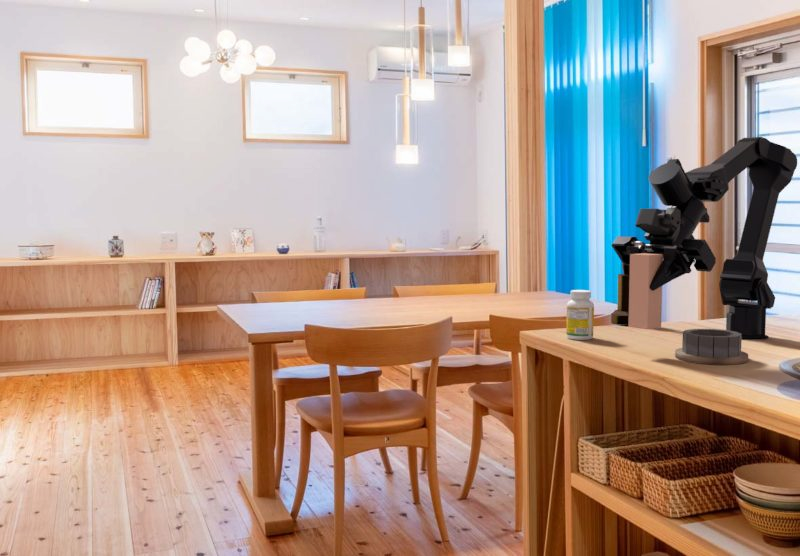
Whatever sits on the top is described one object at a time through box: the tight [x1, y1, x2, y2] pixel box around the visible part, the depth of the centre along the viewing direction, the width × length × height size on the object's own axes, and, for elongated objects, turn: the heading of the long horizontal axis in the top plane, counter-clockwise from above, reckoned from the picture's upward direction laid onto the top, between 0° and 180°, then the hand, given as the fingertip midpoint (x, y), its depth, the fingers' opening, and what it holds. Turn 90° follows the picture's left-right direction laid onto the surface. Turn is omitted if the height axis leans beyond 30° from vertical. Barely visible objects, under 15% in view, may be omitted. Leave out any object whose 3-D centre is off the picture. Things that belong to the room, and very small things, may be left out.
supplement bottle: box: [566, 289, 595, 341], centre depth 168 cm, size 5×5×10 cm
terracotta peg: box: [627, 253, 663, 330], centre depth 148 cm, size 4×4×13 cm
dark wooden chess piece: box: [610, 263, 630, 326], centre depth 187 cm, size 7×6×18 cm
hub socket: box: [674, 328, 749, 366], centre depth 146 cm, size 12×12×4 cm
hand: (640, 287), depth 147 cm, fingers closed on terracotta peg, 4 cm apart
